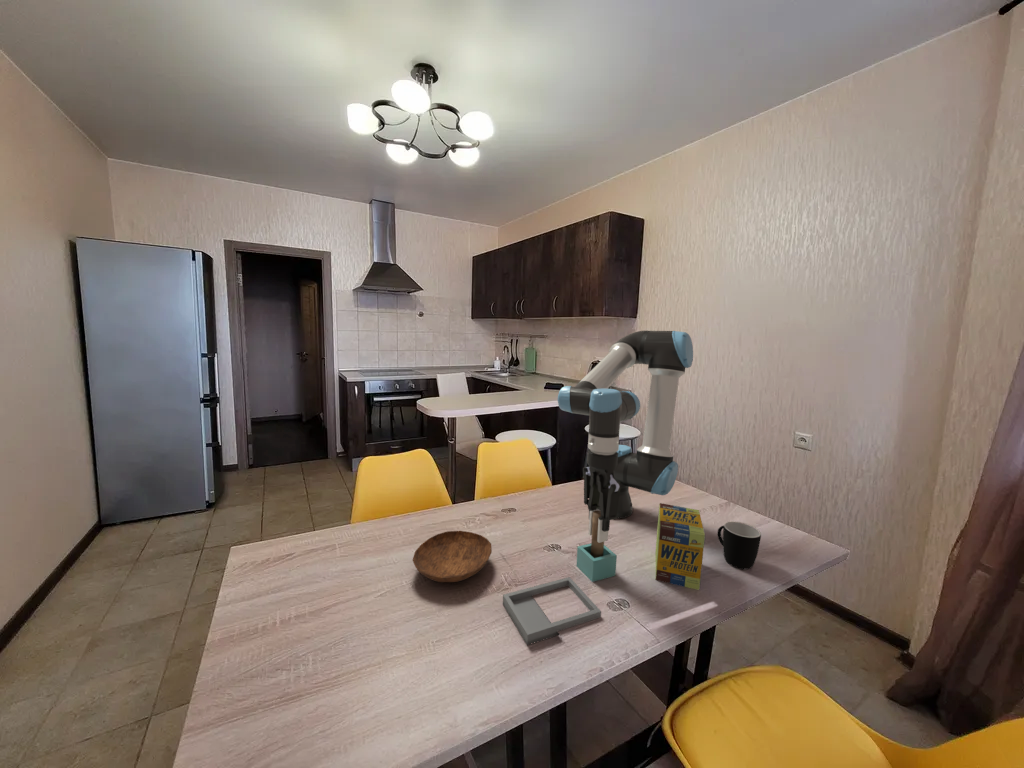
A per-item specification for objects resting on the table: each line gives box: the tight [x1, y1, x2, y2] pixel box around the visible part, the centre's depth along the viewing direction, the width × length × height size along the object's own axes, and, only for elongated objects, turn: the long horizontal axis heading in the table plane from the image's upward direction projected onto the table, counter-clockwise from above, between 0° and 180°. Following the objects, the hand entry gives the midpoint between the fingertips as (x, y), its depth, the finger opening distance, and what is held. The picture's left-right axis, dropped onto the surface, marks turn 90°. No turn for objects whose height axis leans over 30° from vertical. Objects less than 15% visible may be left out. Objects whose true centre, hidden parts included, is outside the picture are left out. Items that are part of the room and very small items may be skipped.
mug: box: [716, 520, 762, 570], centre depth 111 cm, size 12×9×10 cm
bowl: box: [412, 530, 493, 583], centre depth 104 cm, size 20×22×5 cm
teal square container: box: [575, 543, 618, 583], centre depth 103 cm, size 7×7×7 cm
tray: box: [502, 576, 602, 646], centre depth 89 cm, size 13×18×2 cm
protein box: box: [654, 502, 706, 591], centre depth 105 cm, size 10×15×16 cm
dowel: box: [591, 510, 605, 558], centre depth 102 cm, size 3×3×14 cm
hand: (597, 537), depth 102 cm, fingers closed on dowel, 3 cm apart
